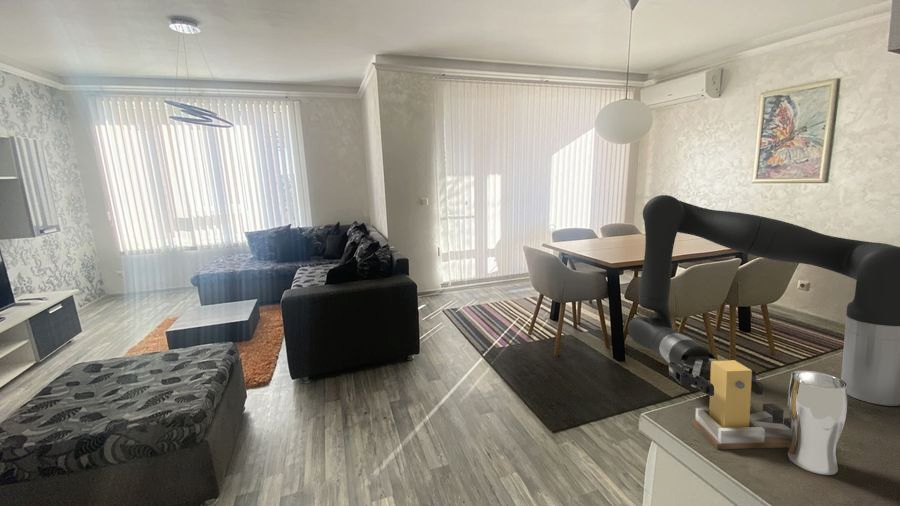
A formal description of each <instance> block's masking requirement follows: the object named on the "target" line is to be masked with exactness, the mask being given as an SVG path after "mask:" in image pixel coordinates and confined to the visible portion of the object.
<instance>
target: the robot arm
mask: <svg viewBox="0 0 900 506" xmlns="http://www.w3.org/2000/svg"><path fill="white" fill-rule="evenodd" d="M642 219H643V223H644V233H645V237H644V238H645V246H644V259H643V264H642V269H641V276H640V283H639V292H638V305H639V306H640V307H641V308H643V309H645V310H649V311H653V312H654V316H653V317H652V316H636V317H633V318H632V319H630V320H629V322H628V325H627V331H628V335H629V337H630V338H631V340H632V341H633V342H634V343H636V344H638V345H639V346H641V347H644V348H646V349H648V350H651V351H654V352H656V353H657V354H658V355H660V356H661V357H662V358H663V359H664V360H665V361H666V362H667V363H668V374H669V375H670V376H671V377H672V378H673V379H674V380H675V381H676V382H677V383H678V384H679V385H681V386H682V387H683V386H684V387H687V386H688V385H690V386H691V387H692V388H697V389H698V390H700V391H701V392H702V393H704V394H706V395H707V396H708V397H710V396H714V386H713V384H711V383H710V376H711V361H719V359H717V358H716V357H715V355H714V354H713V353H712V351H711V350H709V348H707V347H705V346H703V345H702V344H700V343H699V342H697V341H695V340H694V339H692V338H690V337H688V336H686V335H683V334H682V333H681V332H678V331H677V330H675V329H673V324H672V319H671V315H670V308H669V300H670V293H671V281H672V264H673V263H672V262H673V253H674V251H673V250H674V245H675V241H676V237H677V235H678V233H680V234H685V235H691V236H693V237H694V236H695V237H699V238H701V239H704V240H707V241H708V242H712V243H714V244H716V245H719V246H722V247H724V248H727V249H730V250H733V251H736V252H740V253H743V254H747V255H751V256H754V257H758V258H762V259H766V260H767V259H768V260H772V261H777V262H778V261H779V262H783V263H784V262H785V263H794V264H795V263H796V264H804V265H810V266H814V267H818V268H821V269H825V270H828V271H831V272H834V273H837V274H840V275H843V276H845V277H849V278H851V279H853V280H855V281H856V283H855V291H854V298H853V300H852V301H851V302H849V303H847V306H846V314H845V327H844V337H843V338H844V339H843V340H844V341H843V352H842V353H843V354H842V364H841V376H840V379H841V380H842V381H844V382H845V383H846V384H847V396H849V397H852V398H853V399H857V400H860V401H863V402H866V403H870V404H874V405H879V406H888V407H889V406H891V407H895V406H900V246H897V245H892V244H890V243H889V244H888V243H883V242H876V241H875V242H874V241H873V242H872V241H864V240H857V239H851V238H846V237H840V236H839V237H837V236H833V235H828V234H824V233H820V232H818V231H815V230H812V229H810V228H806V227H803V226H800V225H798V224H794V223H790V222H786V221H783V220H779V219H775V218H771V217H765V216H762V215H761V216H760V215H757V214H752V213H751V214H750V213H744V212H735V211H727V210H717V209H716V210H715V209H710V208H706V207H701V206H698V205H695V204H691V203H688V202H685V201H683V200H682V201H681V200H679V199H678V198H676V197H675V196H671V195H668V194H662V195H661V194H660V195H657V196H654V197H652V198H651V199H649V200H648V201H647V202H646V203H645V205H644V207H643V210H642ZM730 360H735V361H737V362H738V363H740V364H742V365H744V366H745V367H747V368H749V369H750V370H752V380H751V393H752V392H753V394H755V395H762V394H763V389H764V386H763V385H764V384H763V382H761V381H759V380H758V379H757V370H755V369H754V368H752V367H750V366H748V365H746V364H744V363H742V362H740V361H738V359H730Z"/></svg>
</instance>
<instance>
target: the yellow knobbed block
mask: <svg viewBox="0 0 900 506" xmlns="http://www.w3.org/2000/svg"><path fill="white" fill-rule="evenodd" d="M735 360H736V359H734V360H731V359H730V360H718V361H711V376H710V380H709V382H710V383H711V384H713V386H714V396H709V407H708V408H709V416H710V417H711V418H712V419H713V420H714V421H715V422H717V423H718V424H719V425H720V426H721V427H722V428H743V427H749V420H750V414H751V401H752V400H751V399H752V398H751V397H752V396H751V395H752V391H751V380H752V370H750V369H749V368H747V367H745V366H744V365H745V364H744V365H742V364H743V363H742V364H740V363H738V362H737V361H738V360H737V361H735Z"/></svg>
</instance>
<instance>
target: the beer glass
mask: <svg viewBox="0 0 900 506" xmlns="http://www.w3.org/2000/svg"><path fill="white" fill-rule="evenodd" d="M787 406H788V408H787V409H788V415H789V418H790V422H791V428H792V442H791V445H790V447H788V450H787V451H788V452H787V457H788V459H789V460H790V461H791V462H792V463H793V464H794V465H796V466H798V467H799V468H801V469H803V470H805V471H808V472H811V473H813V474H817V475H823V476H832V475H836V474H837V473H838V470H839V467H838V461H837V456H836V454H837V453H836V452H837V451H836V449H837V444H838V442H839V440H840V437H841V434H842V431H843V428H844V425H845V422H846V419H847V413H848V395H847V384H846V383H845V382H844V381H842V380H841V378H839V377H836V376H833V375H831V374H828V373H823V372H819V371H816V370H815V371H813V370H805V369H804V370H795V371H792V372H791V375H790V381H789V387H788V393H787Z"/></svg>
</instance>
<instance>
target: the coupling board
mask: <svg viewBox="0 0 900 506" xmlns="http://www.w3.org/2000/svg"><path fill="white" fill-rule="evenodd" d="M784 411H785V410H784V409H782V408H781V407H779V406H778V405H777V404H775V403H773V402H772V403H762V411H759V412H754V413H750V420H749V427H743V428H722V427H721V426H720V425H719V424H718V423H717V422H715V421H714V420H713V419H712V418H711V417H710V416H709V407H695V418H692V419H691V425H692V426H693V427H694V428H695V429H696V430H697V431H698V432H699V433H700V434H701V435H702V436H703V437H704V438H705V439H706V440H707V441H708V442H709V443H710V444H711V445H712V446H713V447H714V448H715V449H717V450H729V449H732V450H733V449H739V450H741V449H770V448H771V449H773V448H774V449H776V448H778V449H779V448H790V445H791V442H792V428H791V422H790V417H786V418H785V417H784Z"/></svg>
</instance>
